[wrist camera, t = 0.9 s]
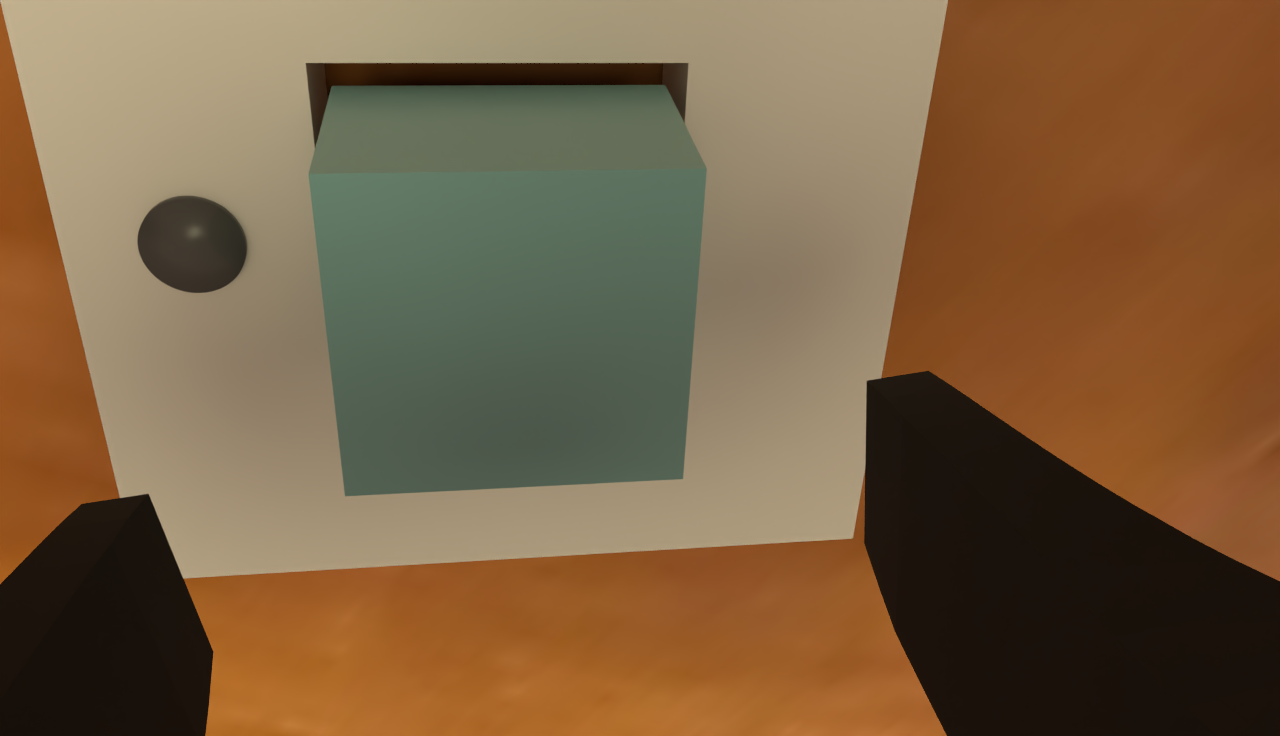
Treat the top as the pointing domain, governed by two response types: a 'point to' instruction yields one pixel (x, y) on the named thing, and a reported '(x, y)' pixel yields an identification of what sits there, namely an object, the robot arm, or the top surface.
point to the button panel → (291, 287)
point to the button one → (507, 283)
